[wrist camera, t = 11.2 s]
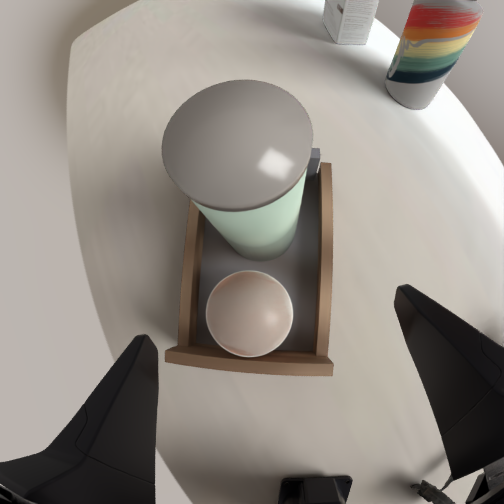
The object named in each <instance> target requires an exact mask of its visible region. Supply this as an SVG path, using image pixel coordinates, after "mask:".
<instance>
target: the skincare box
mask: <svg viewBox="0 0 504 504" xmlns="http://www.w3.org/2000/svg"><path fill="white" fill-rule="evenodd" d="M378 3H379V0H325V6H324V14H323V22H324V24H325V26H326V28H327V30H328V32H329V34H330V35H331V37H332V39H333V40H334V42H335V43H337V44H352V45H365V44H366V42H367V39H368V36H369V33H370V29H371V26H372V23H373V20H374V16H375V13H376V10H377V6H378Z"/></svg>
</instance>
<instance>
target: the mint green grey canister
mask: <svg viewBox="0 0 504 504" xmlns="http://www.w3.org/2000/svg"><path fill="white" fill-rule="evenodd" d="M312 143H313V129H312V123H311V121H310V118H309V115H308V113H307V112H306V110H305V108H304V107H303V106H302V104H301V103H300V102H299V101H298V100H297V99H296V98H295V97H294V96H293V95H291V94H290V93H289V92H287V91H285V90H284V89H282V88H280V87H278V86H275V85H273V84H270V83H266V82H262V81H256V80H234V81H227V82H223V83H219V84H216V85H213V86H210V87H208V88H206V89H204V90H202V91H200V92H198V93H196V94H195V95H194V96H192V97H191V98H189V99H188V100H187V101H186V102H185V103H183V104H182V105H181V106H180V107H179V109H178V110H177V111H176V112H175V113H174V115H173V116H172V118H171V119H170V121H169V123H168V125H167V127H166V130H165V132H164V136H163V140H162V158H163V163H164V166H165V169H166V171H167V173H168V174H169V176H170V178H171V179H172V180H173V181H174V183H175V184H176V185H177V186H178V187H179V189H180V190H181V191H182V192H183V193H184V194H185V195H186V196H187V197H189V198H190V199H191V200H192V201H193V203H194V204H195V205H196V206H197V207H198V208H199V210H200V211H201V212H202V213H203V214H204V215H205V216H206V218H207V219H208V220H209V221H210V222H211V223H212V225H213V226H214V227H215V228H216V229H217V230H218V231H219V233H220V234H221V235H222V236H223V237H224V238H225V239H226V241H227V242H228V243H229V244H230V245H231V246H232V247H233V249H234V250H235V251H236V252H237V253H238V254H239V255H241V256H242V257H244V258H246V259H249V260H252V261H258V262H264V261H270V260H273V259H275V258H278V257H279V256H281V255H282V254H283V253H285V252H286V251H287V250H288V248H289V247H290V246H291V244H292V242H293V240H294V237H295V232H296V227H297V222H298V216H299V211H300V205H301V200H302V194H303V189H304V183H305V177H306V171H307V166H308V163H309V160H310V155H311V149H312Z"/></svg>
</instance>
